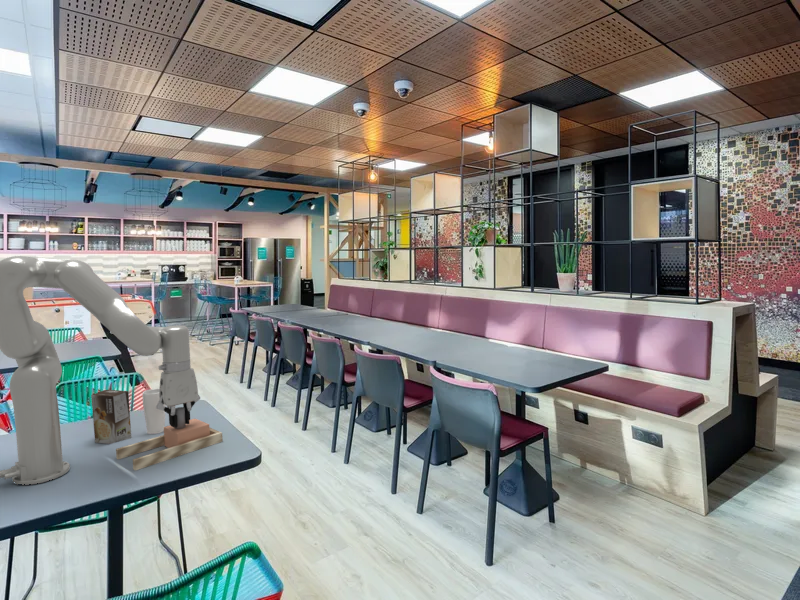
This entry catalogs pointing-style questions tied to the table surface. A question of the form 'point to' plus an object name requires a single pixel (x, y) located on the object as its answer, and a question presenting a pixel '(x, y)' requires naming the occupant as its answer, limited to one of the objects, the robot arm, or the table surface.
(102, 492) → the table surface
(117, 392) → the coffee box
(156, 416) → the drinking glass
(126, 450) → the bay
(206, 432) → the salmon block with knob
